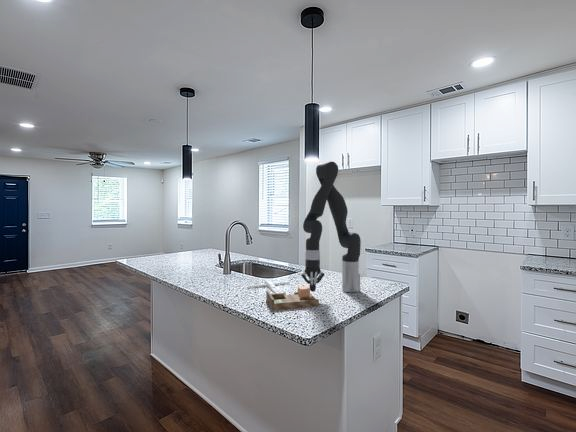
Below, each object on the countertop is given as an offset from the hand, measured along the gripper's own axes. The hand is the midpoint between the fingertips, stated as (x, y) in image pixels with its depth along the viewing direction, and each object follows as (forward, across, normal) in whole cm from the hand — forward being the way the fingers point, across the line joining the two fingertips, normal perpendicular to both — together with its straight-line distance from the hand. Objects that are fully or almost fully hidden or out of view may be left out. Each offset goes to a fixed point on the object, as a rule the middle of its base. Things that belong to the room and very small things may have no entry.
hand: (312, 291), depth 159 cm
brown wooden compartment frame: (+4, +12, +3) cm, 13 cm away
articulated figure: (+5, +16, -23) cm, 29 cm away
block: (+2, +5, 0) cm, 5 cm away
